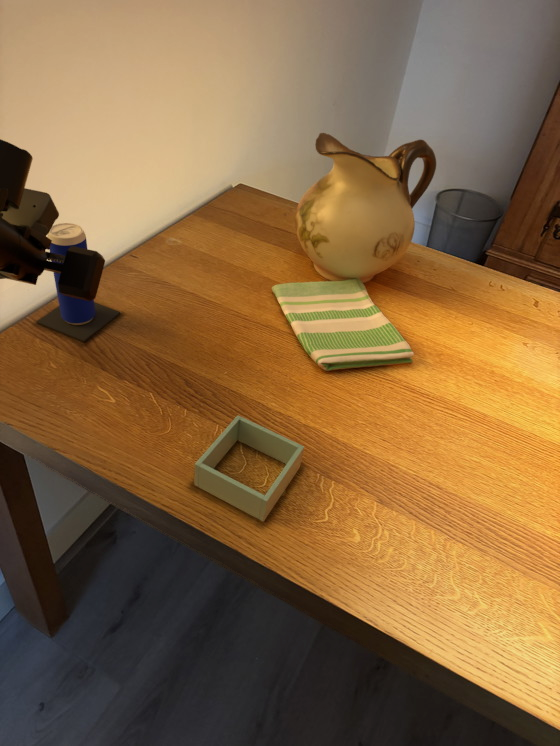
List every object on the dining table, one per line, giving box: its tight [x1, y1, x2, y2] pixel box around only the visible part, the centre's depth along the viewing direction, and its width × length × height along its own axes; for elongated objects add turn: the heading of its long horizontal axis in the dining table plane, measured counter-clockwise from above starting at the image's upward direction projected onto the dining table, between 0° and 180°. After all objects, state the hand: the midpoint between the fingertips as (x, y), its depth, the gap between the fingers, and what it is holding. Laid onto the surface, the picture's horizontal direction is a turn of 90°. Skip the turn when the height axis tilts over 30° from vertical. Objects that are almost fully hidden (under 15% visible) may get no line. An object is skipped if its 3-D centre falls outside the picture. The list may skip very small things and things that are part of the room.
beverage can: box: [47, 222, 95, 325], centre depth 82 cm, size 5×5×15 cm
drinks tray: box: [193, 414, 305, 523], centre depth 66 cm, size 10×10×4 cm
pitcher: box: [294, 132, 437, 284], centre depth 102 cm, size 22×24×25 cm
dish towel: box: [271, 278, 415, 372], centre depth 93 cm, size 18×23×3 cm
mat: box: [36, 301, 121, 343], centre depth 87 cm, size 9×9×1 cm
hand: (58, 279), depth 78 cm, fingers open, 9 cm apart
